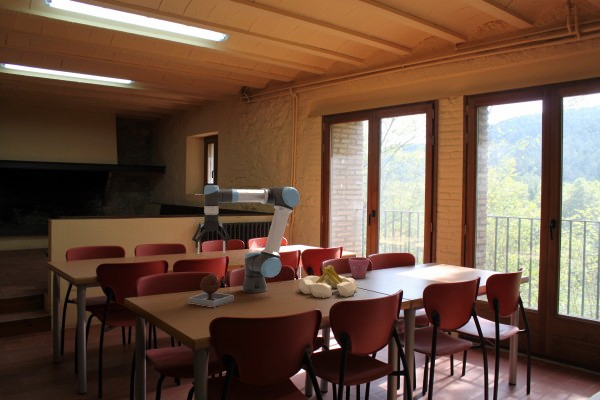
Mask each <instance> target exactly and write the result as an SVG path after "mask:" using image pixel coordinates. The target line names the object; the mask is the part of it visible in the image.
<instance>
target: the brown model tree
mask: <svg viewBox="0 0 600 400" xmlns="http://www.w3.org/2000/svg"><path fill="white" fill-rule="evenodd" d="M220 286H221V282H220V280H219V279H218V277H217V275H216V274H215V273H212V272H211V273H209V274H207V275H206V276H204V277H202V278H201V281H200V283H199V288H200V290H202V292H203V293H208V295H209V296H208V298H207V299H206V300H211V301H214V300H215V299H213V298H212V293H217V291H218V290H220Z"/></svg>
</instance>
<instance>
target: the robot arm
mask: <svg viewBox="0 0 600 400" xmlns="http://www.w3.org/2000/svg"><path fill="white" fill-rule="evenodd" d="M203 196H204V197H203V199H204V201H203V203H204V206H203V207H204V210H203V212H204V216H203V217H204V219H203V223H200V222H198V224H197V228H196V231H195V233H194V234H193V236H192V239H191V240H192V241H193V242H194V243H195V248H196V249H197V255H200V240H201V238H202V237H203V236H204V235H205V234H206V233H207V232H209V233H210V232H217V233H218V234H219V235H220V237H221V238H222V239H223V241H222V253H223V254H226V248H227V247H228V241H230V240H231V236H230V234H229V233H228V230H227V228H226V226H225V222H221V223H220V222H219V218H220V217H219V205H220V203H221V204H222V203H225V204H228V203H232V204H234V203H261V204H262V205H271V206H273V208H274V209H275V210H274V214H273V217H272V221H271V225H270V228H269V232H268V235H267V238H266V242H265V245H264V249H262V250H261V251H255V252H247V253H245V255H244V279H243V283H242V285H241V291H242V292H244V293H251V294H255V293H256V294H259V293H265V292H267V291H268V285H267V283H266V278H274V277H275V276H276V277H277V276H278V274H279V273H280V272H281V269H282V262H281V260H280V259H281V255H280V249H281V246H282V243H283V238H284V235H285V231H286V227H287V224H288V220H289V216H290V214H291V213H293V212H294V208H295V207H297V206H298V205H299V203H300V199H301V198H300V197H301V196H300V193H299V190H297V189H296V188H295V187H291V186H274V187H266V188H265V187H263V188H261V189H248V188H247V189H243V188H242V189H241V188H219V185H217V184H216V185H215V184H213V185H212V184H211V185H207V184H206V185H204V191H203ZM202 227H203V228H204V229H203V231H202V232H201V233H200V234H199V232H200V230H201V228H202ZM219 227H221V228H222V230H223V231H224V234H225V235H224V234H223V233H222V232H221V231H220V229H219ZM198 234H199V235H198Z"/></svg>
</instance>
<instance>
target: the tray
mask: <svg viewBox="0 0 600 400" xmlns="http://www.w3.org/2000/svg"><path fill="white" fill-rule="evenodd" d="M208 296H209V295H208V293H205V292H203V293H200V294H196V295H193V296H190V297H188V298H187V299H188V302H190V303H195V304H200V305H205V306H211V307H215V306H219V305H222V304H225V305H227V304H226V303H228V304H230V303H229V302H231V303H233V301H234V300H235V299H234V294H228V293H220V292H215V293H212V298H213V299H215V300H214V301H211V300H206V299H207V298H208ZM222 306H223V305H222ZM219 307H220V306H219Z"/></svg>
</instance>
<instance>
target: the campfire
mask: <svg viewBox="0 0 600 400" xmlns="http://www.w3.org/2000/svg"><path fill="white" fill-rule="evenodd" d="M321 271H323V273H322V275H321V276H317V275H307V276H305V277H304V278H302V279H300V280H299V285H298V287H299V289H300V291H301V293H303V294H305V295H313V296H314V297H315V298H321V297H322V299H326V298H329V297H332V295H333V293H332V289H337V290H338V293H339V296H341V297H346V298H347V297H351V296H353V295H354V293H357V292H358V285H359V284H358V283H357V282H356V280H355V279H354V277H346V276H343V275H340V274H338V273H337V272H336V271H335V266H334V265H333V264H328V265H327V266H324V268H323V269H322V270H321Z"/></svg>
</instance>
